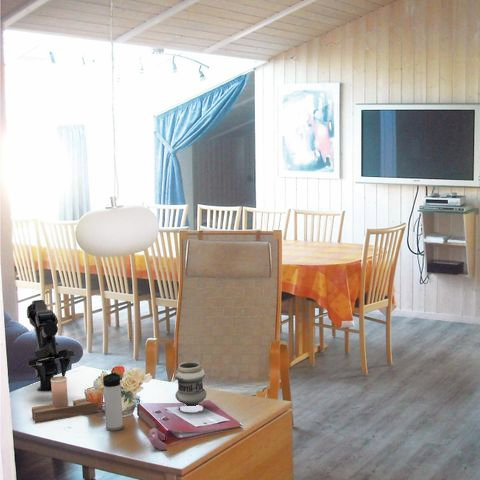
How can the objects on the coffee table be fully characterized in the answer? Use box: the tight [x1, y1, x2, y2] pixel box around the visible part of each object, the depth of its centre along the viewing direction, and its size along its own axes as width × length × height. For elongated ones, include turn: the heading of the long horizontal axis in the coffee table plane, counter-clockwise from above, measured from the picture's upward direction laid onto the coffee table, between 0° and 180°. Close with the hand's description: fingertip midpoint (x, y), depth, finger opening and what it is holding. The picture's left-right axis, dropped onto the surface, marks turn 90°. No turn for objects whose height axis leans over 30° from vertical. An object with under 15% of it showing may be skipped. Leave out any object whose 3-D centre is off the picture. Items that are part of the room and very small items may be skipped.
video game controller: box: [148, 427, 168, 451], centre depth 280 cm, size 10×5×7 cm, turn 5°
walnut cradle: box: [31, 397, 99, 424], centre depth 314 cm, size 7×24×4 cm, turn 114°
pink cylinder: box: [51, 375, 69, 408], centre depth 321 cm, size 6×6×12 cm
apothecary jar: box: [174, 361, 207, 406], centre depth 314 cm, size 12×12×18 cm
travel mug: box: [102, 372, 124, 432], centre depth 297 cm, size 6×7×20 cm
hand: (53, 379), depth 327 cm, fingers open, 9 cm apart
